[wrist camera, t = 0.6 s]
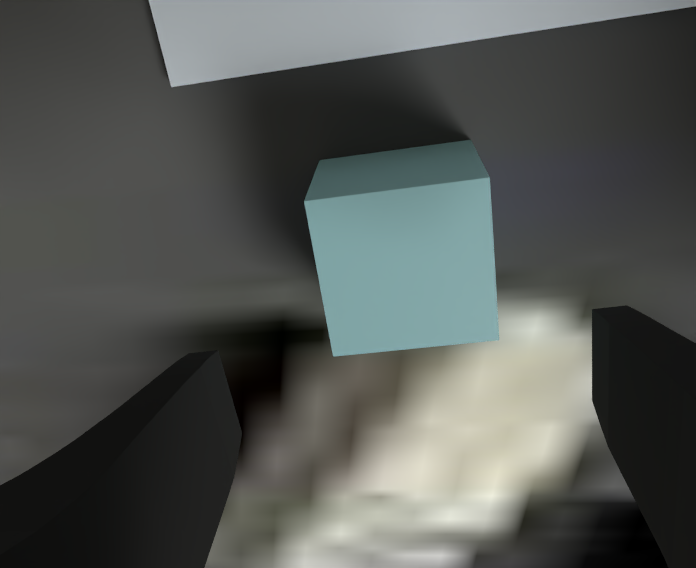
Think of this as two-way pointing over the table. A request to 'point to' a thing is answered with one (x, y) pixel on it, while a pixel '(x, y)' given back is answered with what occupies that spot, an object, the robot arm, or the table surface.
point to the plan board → (350, 29)
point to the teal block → (404, 248)
